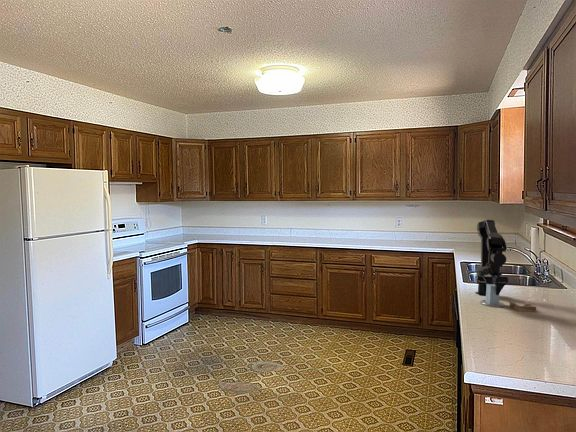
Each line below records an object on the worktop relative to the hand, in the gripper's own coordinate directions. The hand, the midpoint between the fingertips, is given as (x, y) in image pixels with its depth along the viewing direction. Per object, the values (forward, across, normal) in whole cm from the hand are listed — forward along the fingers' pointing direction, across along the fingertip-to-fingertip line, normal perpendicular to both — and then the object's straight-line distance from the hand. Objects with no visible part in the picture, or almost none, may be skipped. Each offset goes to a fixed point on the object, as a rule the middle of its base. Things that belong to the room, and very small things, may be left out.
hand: (492, 292), depth 223 cm
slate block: (+5, 0, 0) cm, 5 cm away
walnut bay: (+6, +7, +12) cm, 15 cm away
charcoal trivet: (+6, 0, 0) cm, 6 cm away
